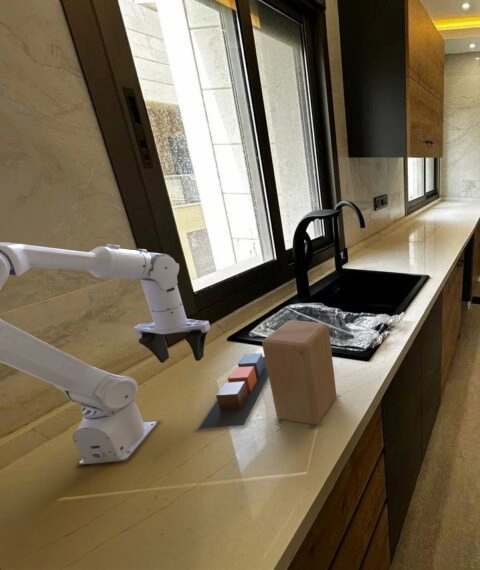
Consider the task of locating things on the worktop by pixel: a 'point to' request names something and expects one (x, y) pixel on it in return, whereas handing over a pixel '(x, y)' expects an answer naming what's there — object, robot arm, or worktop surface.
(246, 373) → the terracotta block
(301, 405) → the wooden block
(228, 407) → the walnut block
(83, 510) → the worktop surface
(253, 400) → the line mat
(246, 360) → the slate-blue block
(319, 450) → the worktop surface
